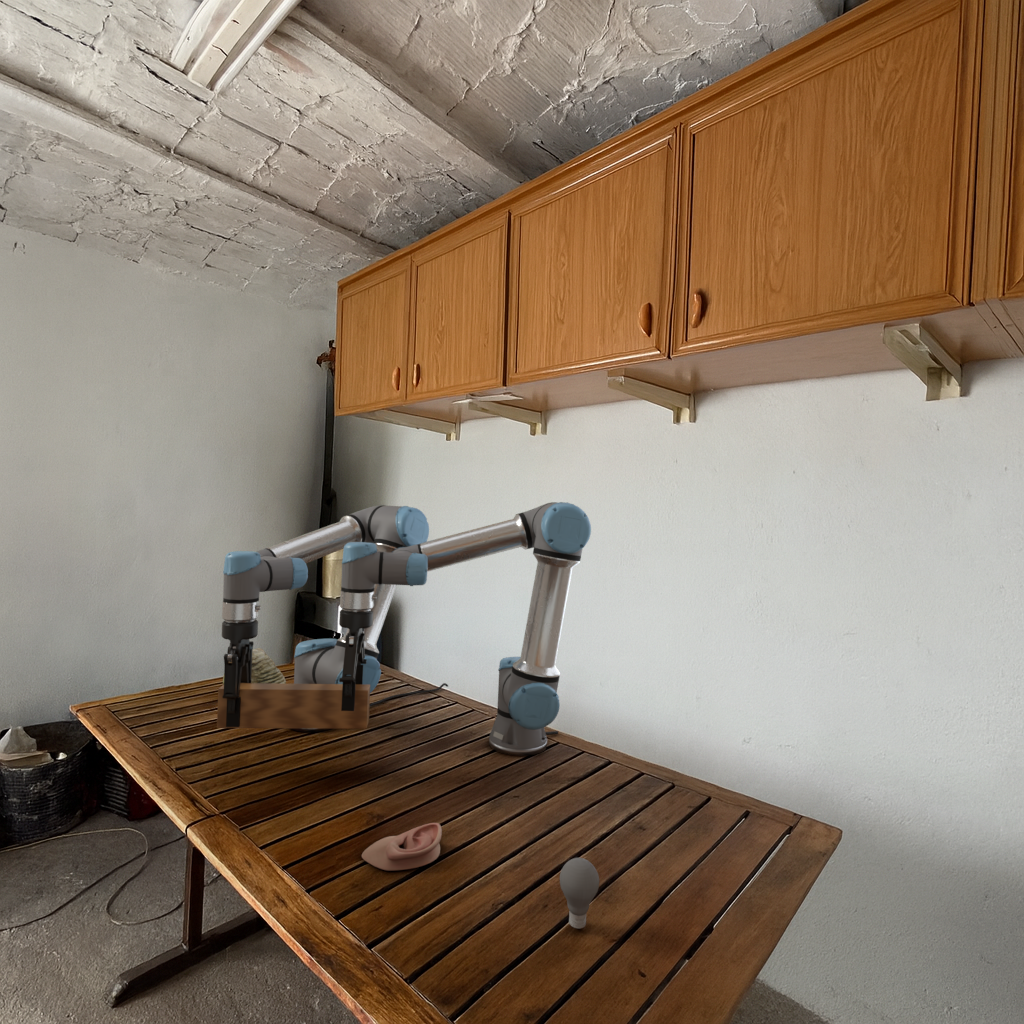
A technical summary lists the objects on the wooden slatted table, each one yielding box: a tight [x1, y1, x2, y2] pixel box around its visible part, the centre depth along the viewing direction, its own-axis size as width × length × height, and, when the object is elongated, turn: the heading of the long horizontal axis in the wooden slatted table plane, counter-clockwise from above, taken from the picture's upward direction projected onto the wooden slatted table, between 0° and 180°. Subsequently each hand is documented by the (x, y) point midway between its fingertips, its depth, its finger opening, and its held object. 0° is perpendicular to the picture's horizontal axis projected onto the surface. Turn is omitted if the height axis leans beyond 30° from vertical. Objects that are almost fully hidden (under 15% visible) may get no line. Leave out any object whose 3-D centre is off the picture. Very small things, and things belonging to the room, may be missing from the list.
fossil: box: [222, 647, 287, 685], centre depth 198 cm, size 9×18×15 cm, turn 132°
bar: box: [216, 683, 371, 730], centre depth 145 cm, size 33×5×9 cm, turn 96°
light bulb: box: [559, 857, 600, 929], centre depth 96 cm, size 6×6×10 cm
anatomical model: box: [361, 822, 443, 872], centre depth 114 cm, size 13×4×12 cm
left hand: (236, 721), depth 144 cm, fingers closed on bar, 5 cm apart
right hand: (352, 700), depth 146 cm, fingers open, 13 cm apart
